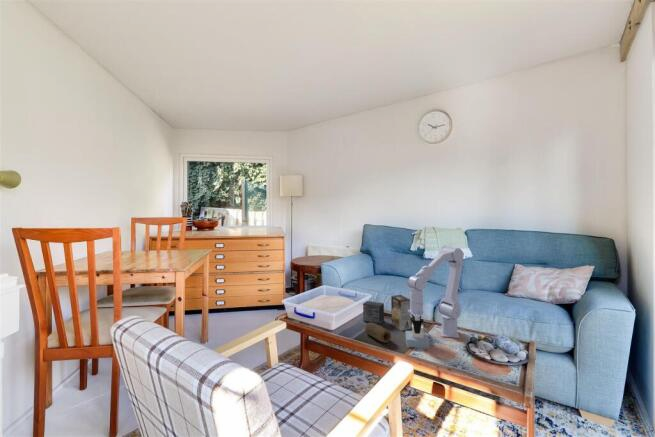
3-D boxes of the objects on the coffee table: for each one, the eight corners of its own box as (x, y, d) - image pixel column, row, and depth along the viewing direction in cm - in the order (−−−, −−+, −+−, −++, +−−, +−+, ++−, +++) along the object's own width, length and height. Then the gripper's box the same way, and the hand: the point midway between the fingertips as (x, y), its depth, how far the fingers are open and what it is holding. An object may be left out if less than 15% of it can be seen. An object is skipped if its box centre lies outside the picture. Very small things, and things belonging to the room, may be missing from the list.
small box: (384, 321, 173) (384, 302, 173) (380, 325, 168) (380, 306, 167) (367, 317, 179) (367, 300, 179) (363, 321, 174) (362, 303, 173)
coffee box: (391, 324, 168) (390, 295, 167) (400, 322, 170) (400, 294, 170) (400, 331, 159) (400, 300, 159) (411, 328, 162) (410, 299, 161)
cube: (412, 332, 148) (412, 322, 148) (422, 333, 147) (422, 323, 147) (412, 337, 144) (412, 327, 143) (423, 338, 142) (423, 327, 142)
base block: (405, 338, 151) (405, 330, 151) (426, 339, 149) (426, 331, 149) (406, 348, 142) (406, 339, 141) (429, 349, 140) (429, 341, 139)
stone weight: (393, 342, 148) (393, 328, 147) (382, 345, 144) (382, 332, 144) (373, 331, 160) (373, 318, 160) (362, 334, 157) (362, 321, 156)
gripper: (407, 296, 152) (408, 323, 153) (407, 306, 138) (408, 335, 139) (422, 297, 151) (423, 324, 151) (424, 307, 137) (424, 336, 137)
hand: (417, 329), depth 145 cm, fingers open, 7 cm apart
